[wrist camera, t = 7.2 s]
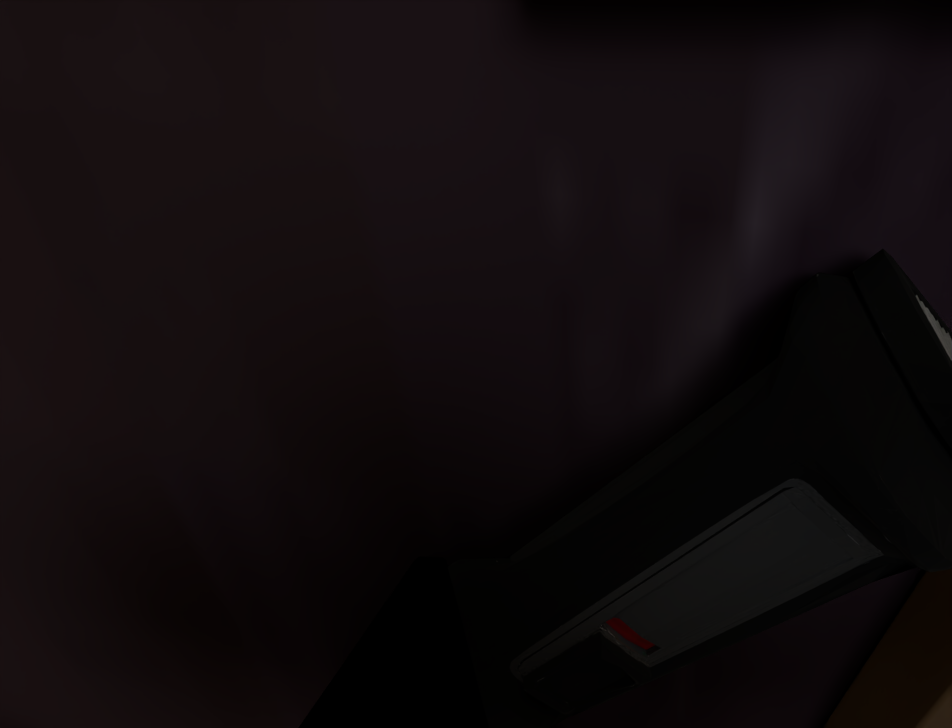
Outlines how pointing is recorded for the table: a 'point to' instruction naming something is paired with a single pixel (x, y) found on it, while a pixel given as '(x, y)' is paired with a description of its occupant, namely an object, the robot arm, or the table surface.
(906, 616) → the dock
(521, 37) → the table surface
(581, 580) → the electric trimmer
